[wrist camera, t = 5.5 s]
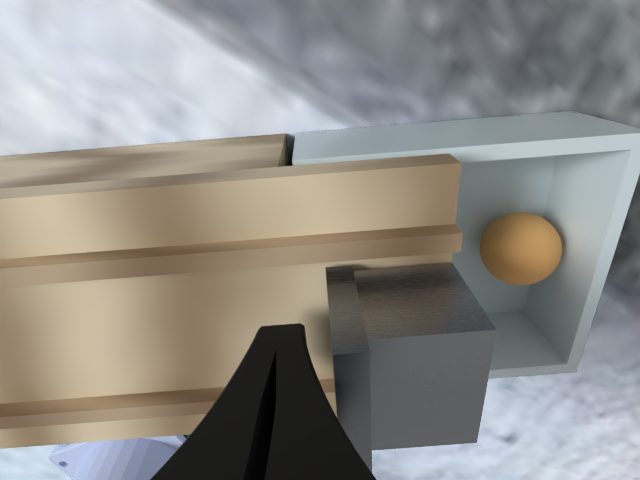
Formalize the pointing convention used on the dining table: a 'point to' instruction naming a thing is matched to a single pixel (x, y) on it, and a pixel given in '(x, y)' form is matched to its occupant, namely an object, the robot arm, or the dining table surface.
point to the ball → (520, 248)
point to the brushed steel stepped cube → (407, 356)
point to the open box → (521, 196)
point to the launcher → (185, 272)
